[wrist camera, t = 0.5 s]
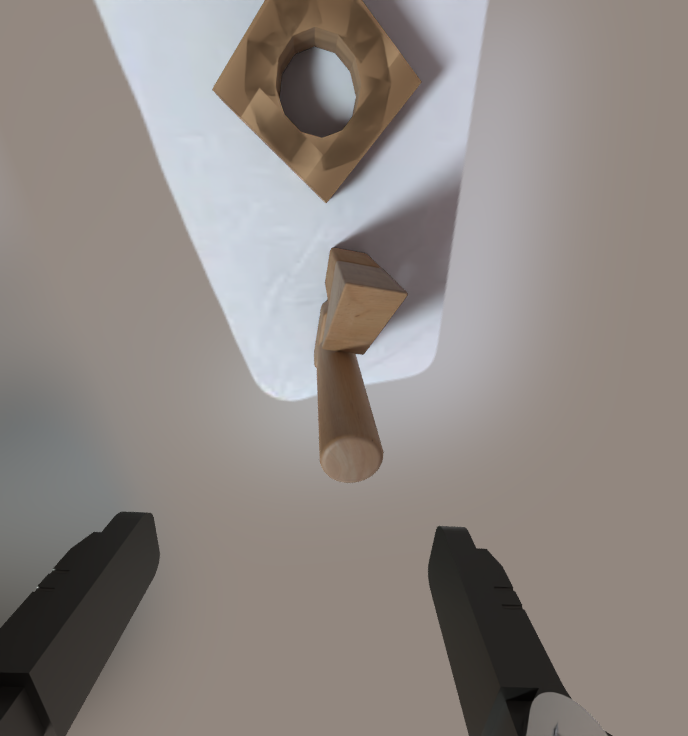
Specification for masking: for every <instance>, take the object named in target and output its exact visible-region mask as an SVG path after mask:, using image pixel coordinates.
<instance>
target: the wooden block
mask: <svg viewBox="0 0 688 736" xmlns="http://www.w3.org/2000/svg"><path fill="white" fill-rule="evenodd" d="M325 285H326V291H327V297H328V300H327V301H326V302H325V303H323V304H322V306H321V312H320V318H319V324H318V331H317V337H316V343H315V350H314V365H315V367H316V368H317V390H318V421H319V450H320V464H321V466H322V468H323V470H324V472H325V473H326V474H327V475H328V476H329V477H331V478H332V479H334V480H336V481H340V482H345V483H353V482H359V481H362V480H365V479H367V478H369V477H370V476H372V475H373V474H374V473H375V472H376V471H377V470H378V469H379V467H380V465H381V463H382V460H383V449H382V446H381V442H380V438H379V435H378V431H377V428H376V425H375V421H374V417H373V414H372V410H371V407H370V403H369V400H368V396H367V393H366V389H365V386H364V382H363V379H362V375H361V372H360V368H359V365H358V361H357V358H356V354H362V355H363V354H365V352H366V351H367V349H368V348H369V347H370V345H371V344H372V343H373V341H374V340H375V339H376V337H377V336H378V335H379V333H380V332H381V331H382V329H383V328H384V327H385V325H386V324H387V322H388V321H389V320H390V318H391V317H392V316H393V314H394V313H395V312H396V310H397V309H398V308H399V306H400V305H401V304H402V302H403V301H404V300H405V298H406V297H407V295H408V293H407V292H406V291H405V290H404V289H403V288H402V287H401V286H400V285H399V284H398V283H397V282H396V281H395V280H394V279H393V278H392V277H391V276H390V275H389V274H388V273H387V272H386V271H385V270H384V269H382V268H381V267H380V266H379V265H378V264H377V263H376V262H375V261H374V260H373V259H372V258H371V257H369V256H368V255H367V254H366V253H362V252H356V251H351V250H345V249H340V248H331V250H330V254H329V261H328V267H327V273H326V280H325Z"/></svg>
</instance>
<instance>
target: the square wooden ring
mask: <svg viewBox="0 0 688 736" xmlns="http://www.w3.org/2000/svg"><path fill="white" fill-rule="evenodd" d="M314 46H315V47H318V48H321V49H324V50H327V51H330V52H333V53H335V54H336V55H337V56H338V57H339V59H340V60H341V61H342V62H343V63H344V65H345V66H346V67H347V68H348V70H349V71H350V73H351V77H352V81H353V86H354V90H355V94H356V100H355V105H354V110H353V116H352V118H351V119H350V120H349V122H348V123H347V124H346V126H345V127H344V128H343V130H342V131H339V132H336V133H334V134H331V135H328V136H326V137H323V138H321V137H317V136H314V135H310V134H307V133H303V132H301V131H300V130H299V129H298V128H297V127H296V126H295V125H294V124H293V123H292V122H291V121H290V119H289V118H288V117H287V116H286V115H285V114H284V112H283V108H282V105H281V102H280V99H279V98H280V88H281V79H282V73H283V72H284V70H285V69H286V67H287V65H288V64H289V62H290V61H291V59H292V58H293V56H294V55H295V54H297V53H299V52H302V51H304V50H307V49H309V48H312V47H314ZM420 84H421V80H420V79H419V78H418V76H417V75H416V74H415V72H414V71H413V69H412V68H411V67H410V65H409V64H408V63H407V61H406V60H405V59H404V57H403V56H402V54H401V53H400V52H399V50H398V49H397V48H396V46H395V45H394V43H393V42H392V41H391V39H390V38H389V37H388V35H387V34H386V32H385V31H384V30H383V28H382V27H381V26H380V24H379V23H378V22H377V20H376V19H375V17H374V16H373V15H372V13H371V12H370V11H369V9H368V8H367V6H366V5H365V4H364V2H363V1H362V0H265V1H264V3H263V4H262V6H261V8H260V10H259V11H258V13H257V15H256V16H255V18H254V20H253V21H252V23H251V25H250V26H249V28H248V30H247V31H246V33H245V35H244V37H243V38H242V40H241V42H240V43H239V45H238V47H237V48H236V50H235V52H234V53H233V55H232V57H231V58H230V60H229V62H228V64H227V65H226V67H225V69H224V70H223V72H222V74H221V75H220V77H219V79H218V80H217V82H216V84H215V85H214V87H213V89H212V90H213V91H214V92H215V93H216V94H217V95H218V97H219V98H220V99H221V100H222V101H223V102H224V103H225V104H226V105H227V106H228V107H229V108H230V109H231V110H232V111H233V112H234V113H235V114H236V115H237V116H238V117H239V118H240V119H241V120H242V121H243V122H244V123H245V124H246V125H247V126H248V127H249V128H250V129H251V130H252V131H253V132H254V133H255V134H256V135H257V136H258V137H259V138H260V139H261V140H262V141H263V142H264V143H265V144H266V145H267V146H268V147H269V148H270V149H271V150H272V151H273V152H274V153H275V154H276V155H277V156H278V157H279V158H281V159H282V160H283V161H284V162H285V163H286V164H287V165H288V166H289V167H290V168H291V169H292V170H293V171H294V172H295V173H296V174H297V175H298V176H299V177H300V178H301V179H302V180H303V181H304V182H305V183H306V184H307V185H308V186H309V187H310V188H311V189H312V190H313V191H314V192H315V193H316V194H317V195H318V196H319V197H320V198H321V199H322V200H323V201H324V202H325V203H327V202H328V201H329V199H330V198H331V197H332V196H333V194H334V193H335V192H336V190H337V189H338V188H339V187H340V185H341V184H342V183H343V182H344V180H345V179H346V178H347V176H348V175H349V174H350V173H351V171H352V170H353V169H354V168H355V166H356V165H357V164H358V162H359V161H360V160H361V159H362V157H363V156H364V155H365V154H366V152H367V151H368V150H369V148H370V147H371V146H372V145H373V143H374V142H375V141H376V140H377V138H378V137H379V136H380V134H381V133H382V132H383V131H384V129H385V128H386V127H387V126H388V124H389V123H390V122H391V120H392V119H393V118H394V117H395V115H396V114H397V113H398V112H399V110H400V109H401V108H402V106H403V105H404V104H405V103H406V101H407V100H408V99H409V98H410V96H411V95H412V94H413V92H414V91H415V90H416V89H417V87H418V86H419V85H420Z"/></svg>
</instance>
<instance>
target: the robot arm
mask: <svg viewBox="0 0 688 736" xmlns="http://www.w3.org/2000/svg"><path fill="white" fill-rule="evenodd" d="M159 557H160V552H159V545H158V540H157V534H156V528H155V523H154V517H153V515H152V514H151V513H143V512H120V513H118V514H117V515H116V516H115V517H114V518H113V519H112V520H111V521H110V523H109V524H108V525H107V526H106V527H105V529H104V530H103V531H102V532H93V533H92V534H90V535H89V536H88V537H86V538H85V539H83V540H82V541H81V542H79V543H78V544H77V545H75V546H74V547H72V548H71V549H70V550H69V551H68V552H67V553H66V555H65V556H64V557H63V558H62V559H61V560H60V561H59V562H58V564H57V565H56V566H55V567H54V568H53V569H52V572H51V574H48V575H47V576H46V577H45V578H44V579H43V580H42V582H41V583H40V584H39V585H38V586H37V589H36V591H35V592H32V593H31V594H30V595H29V596H28V598H27V599H26V600H25V601H24V602H23V603H22V604H21V605H20V607H19V608H18V609H17V610H16V611H15V612H14V613H13V614H12V616H11V617H10V618H9V619H8V620H7V621H6V622H5V623H4V625H3V626H2V627H1V628H0V736H66V734H67V732H68V730H69V729H70V727H71V725H72V723H73V721H74V719H75V718H76V716H77V714H78V712H79V711H80V709H81V707H82V705H83V703H84V702H85V700H86V698H87V696H88V694H89V693H90V691H91V689H92V687H93V685H94V684H95V682H96V680H97V678H98V676H99V675H100V673H101V671H102V669H103V668H104V666H105V664H106V662H107V660H108V659H109V657H110V655H111V653H112V651H113V650H114V648H115V646H116V644H117V642H118V641H119V639H120V637H121V635H122V633H123V632H124V630H125V628H126V626H127V624H128V623H129V621H130V619H131V617H132V616H133V614H134V612H135V610H136V608H137V607H138V605H139V603H140V601H141V599H142V598H143V596H144V594H145V592H146V590H147V588H148V587H149V585H150V583H151V581H152V580H153V578H154V576H155V573H156V571H157V568H158V564H159ZM428 579H429V585H430V590H431V594H432V598H433V601H434V605H435V609H436V613H437V617H438V620H439V624H440V628H441V632H442V636H443V639H444V643H445V647H446V651H447V655H448V658H449V662H450V666H451V669H452V673H453V677H454V681H455V685H456V688H457V692H458V696H459V700H460V704H461V707H462V711H463V715H464V719H465V722H466V726H467V730H468V733H469V736H612V735H610V734H609V733H607V732H606V731H604V730H603V728H602V727H601V726H600V724H599V723H598V722H597V721H596V720H595V719H594V718H593V716H592V715H591V714H590V713H589V712H587V711H586V710H585V709H584V708H583V707H582V706H581V705H579V704H578V703H577V702H575V701H573V700H572V699H571V697H570V696H569V694H568V693H567V691H566V690H565V688H564V686H563V685H562V683H561V681H560V679H559V677H558V675H557V673H556V671H555V669H554V667H553V665H552V663H551V661H550V659H549V657H548V655H547V653H546V651H545V649H544V647H543V645H542V643H541V641H540V639H539V637H538V635H537V633H536V631H535V630H534V628H533V626H532V624H531V622H530V620H529V618H528V616H527V614H526V612H525V610H523V609H522V604H521V602H520V600H519V598H518V596H517V594H516V592H515V591H513V587H512V584H511V582H510V581H509V579H508V576H507V575H506V573H505V570H504V569H503V567H502V566H501V564H500V563H499V562H498V561H497V560H496V559H495V558H494V557H493V556H492V555H491V554H490V552H489V551H488V550H487V549H476V547H475V545H474V543H473V540H472V538H471V536H470V534H469V532H468V530H467V529H466V528H465V527H448V526H438V527H437V529H436V532H435V537H434V542H433V546H432V550H431V555H430V559H429V564H428Z"/></svg>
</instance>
